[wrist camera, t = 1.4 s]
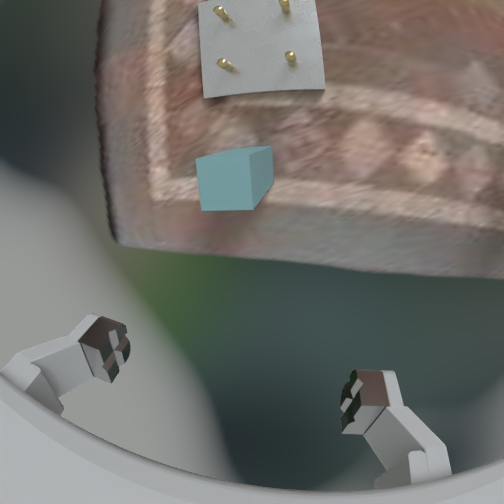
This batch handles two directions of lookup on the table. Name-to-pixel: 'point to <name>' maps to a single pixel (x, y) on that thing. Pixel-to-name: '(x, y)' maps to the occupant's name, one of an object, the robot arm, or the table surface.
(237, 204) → the teal block
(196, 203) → the table surface
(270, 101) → the table surface
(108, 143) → the table surface
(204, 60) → the post plate
